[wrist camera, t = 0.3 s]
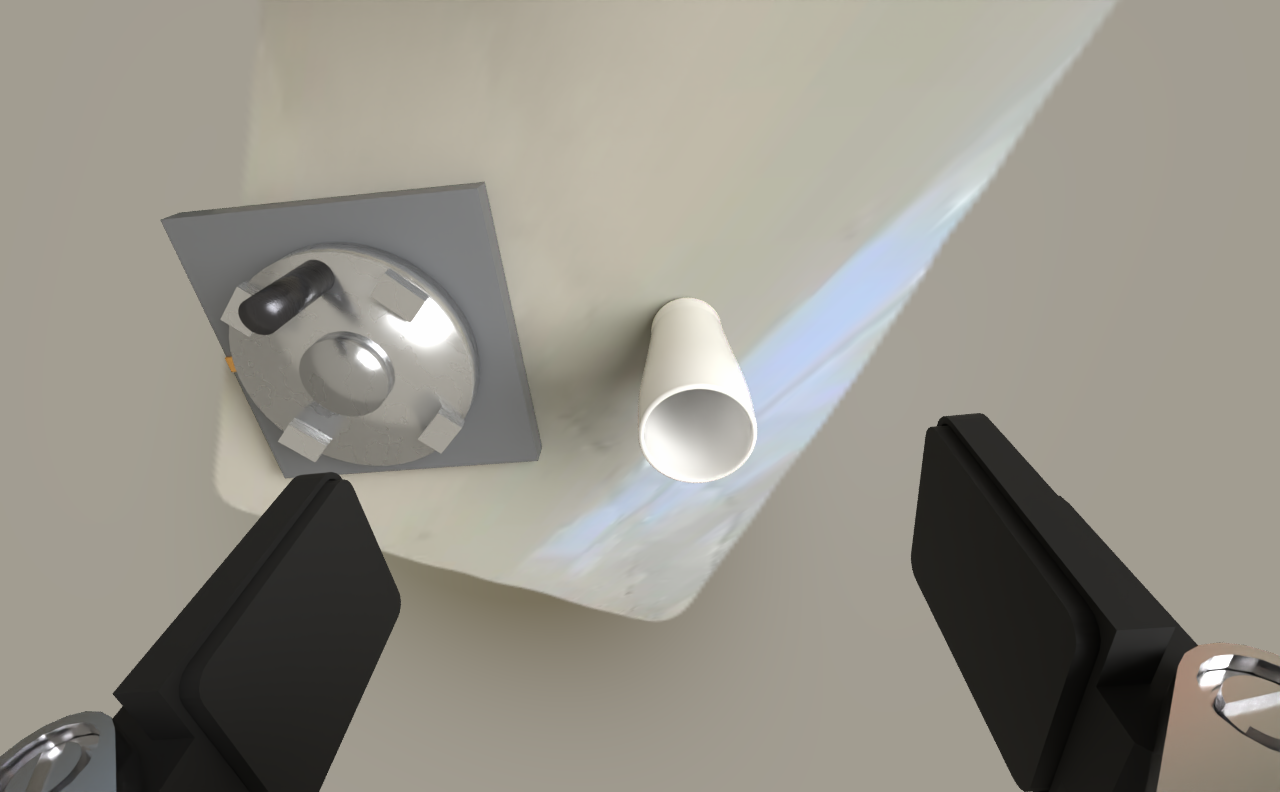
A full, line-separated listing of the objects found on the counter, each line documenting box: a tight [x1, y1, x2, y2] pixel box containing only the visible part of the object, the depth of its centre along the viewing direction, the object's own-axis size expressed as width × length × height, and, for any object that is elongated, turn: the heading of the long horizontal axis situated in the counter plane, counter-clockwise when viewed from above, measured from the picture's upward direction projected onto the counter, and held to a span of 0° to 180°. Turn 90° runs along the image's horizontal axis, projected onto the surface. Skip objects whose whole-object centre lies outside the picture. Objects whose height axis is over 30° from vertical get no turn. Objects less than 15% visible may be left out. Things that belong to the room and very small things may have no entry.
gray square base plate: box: [161, 182, 542, 478], centre depth 47 cm, size 22×22×2 cm
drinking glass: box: [638, 298, 757, 483], centre depth 41 cm, size 7×7×15 cm
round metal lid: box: [220, 242, 480, 466], centre depth 42 cm, size 17×17×10 cm
